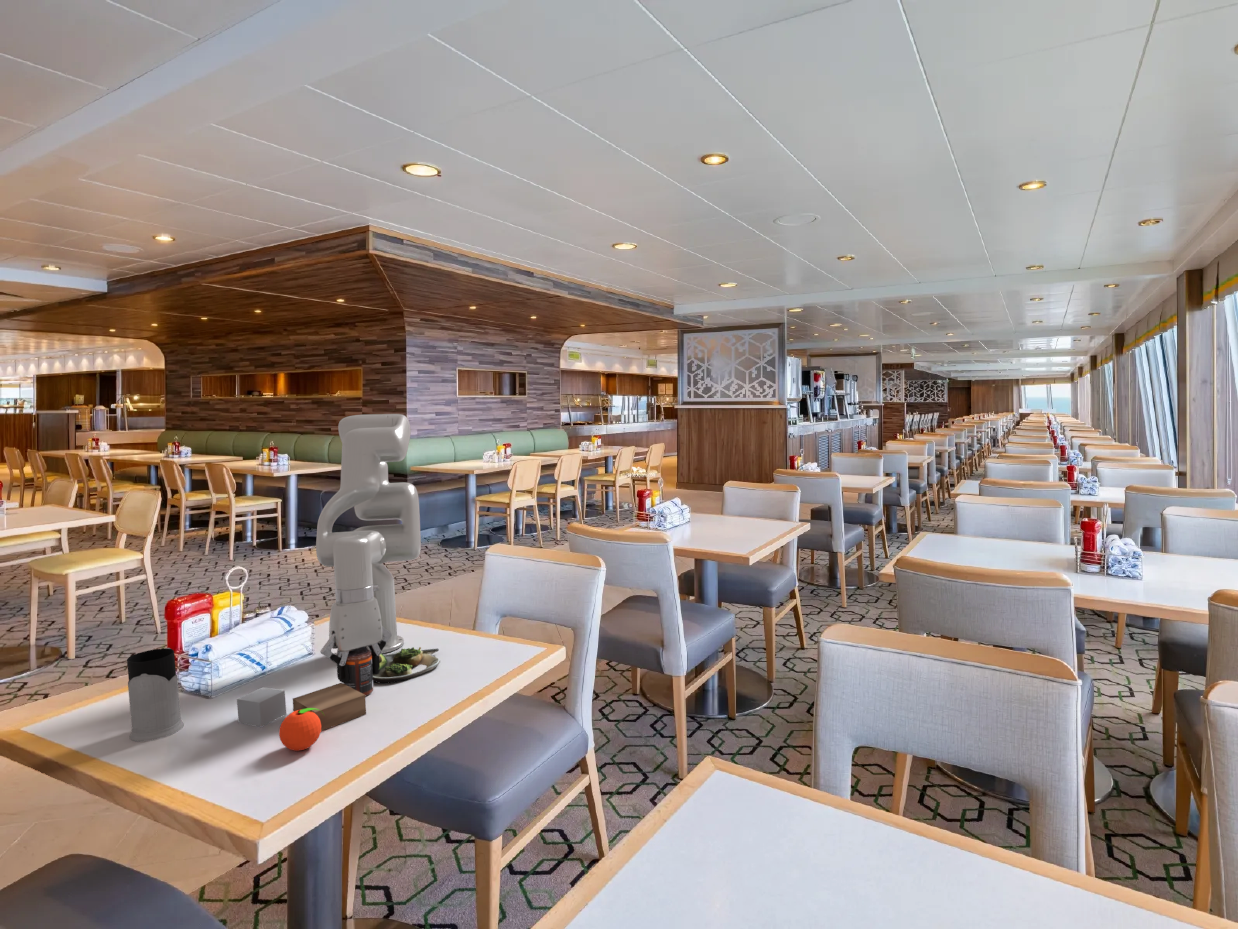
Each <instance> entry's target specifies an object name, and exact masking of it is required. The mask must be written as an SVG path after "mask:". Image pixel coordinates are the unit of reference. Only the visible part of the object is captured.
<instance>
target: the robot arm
mask: <svg viewBox="0 0 1238 929" xmlns="http://www.w3.org/2000/svg"><path fill="white" fill-rule="evenodd" d="M338 422H339V423H338V425H337V426H338V435H339V438H340V442H341V443H342V445H341V462H340V463H341V464H340V465H341V468H340V487H339V489H338V491H336V493H335V494H334V495H333V496H332V497H331V498H330V499H329V500H328V501H327V503H326V504H325V505H324V507H323V509H322V510H321V512H320V515H319V517H318V521H317V527H316V528H317V529H316V542H315V553H316V554H315V555H316V558H317V561H318V562H319V564H320V565H322V566H325V567H329V568H330V567H333V573H334V575H333V576H334V587H335V589H334V590H335V602H333V603H332V604H331V607H330V614H329V625H328V626H329V628H328V629H329V630H328V631H329V632H328V636H329V637H328V639H327V641H326V643H325V644H324V646H322V648H321V649H320V654H322V655H323V656H324V657H326V658H327V659H328V660H330V661H332V662H333V663H334V664H336V671H337V673H336V676H337V677H336V678H337V680H338V681H339V683H343V684H348V683H349V668H348V665H347V664H346V660H347V657H348V653H349V651H351V650H355V649H358V648H361V647H366V646H367V647H366V648H367V649H368V650H370V651H371V653H372V672H373V674H375V675H377V674H379V668H380V663H379V655H381V653H382V654H386V653H390V652H393V651H396V650H398V649H401V647H402V646H403V645H404V644H405V642H404V641H405V640H404V638H403V637H402V636H401V635H398V630H397V629H398V627H397V613H396V612H397V609H396V592H395V579H394V576H393V574H392V572H391V571H390V570H389V569H388V568H387V567H386V565H384V564H385V563H390V562H391V563H393V562H407V561H413V560H416V559H417V558H418V557H419V556H420V553H421V550H422V548H421V546H422V543H421V542H422V539H421V538H422V537H421V516H420V515H421V514H420V498H419V492H418V490H417V487H416V486H415V485H414V484H412V483H411V482H403V481H402V482H390V481H389V465H388V463H391V462H393V463H395V462H398V463H399V462H401V461H403V460H404V459H405V458H406V456H407V453H408V449H409V445H410V440H411V432H412V429H411V424H410V420H409V418H408V417H407V416H406V415H404V414H402V413H401V414H400V413H384V414H382V413H381V414H355V415H349V416H346V417H343V418H341V419H340V421H338ZM352 508H354V513H355V516H356V517H357V518H358V519H359V520H362V521H387V520H390V521H391V520H399V521H401V523H399V524H398V523H397V524H396V523H395V524H378V525H377V524H376V525H367V526H366V525H365V526H361V527H358V528H355V529H354V530H351V531H337V532H333V526H334V523H335V522H336V520H337V519H338V518H339V517H340V516H341V515H342V514H343V513H345V512H346V511H348V510H349V509H352ZM332 649H333V650H334V649H336V652H335V653H333V651H332Z"/></svg>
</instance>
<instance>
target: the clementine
mask: <svg viewBox="0 0 1238 929" xmlns="http://www.w3.org/2000/svg"><path fill="white" fill-rule="evenodd" d="M310 710H319V709H315V708H306V709H301V710H297V711H292V712H291V713H289V714H288V715H287V716H285V718H284V719H283V720H282V722H281V724H280V727H279V731H278V733H279V734H278V735H279V740H280V742H281V744H282V745H283V746H284V747H285V748H287V749H289V750H291V751H297V752H299V751H303V750H306V749H309V748H310V747H312V746H313V745H314V744H315V743H316V742H317V741H318V739H319V738H320V735H321V732H322V731H321V722H320V719H319V717H318V716H317V715H316V714H315V713H314V712H312V711H310ZM321 712H322V711H321ZM322 713H323V712H322ZM323 715H324V714H323ZM324 716H325V715H324Z"/></svg>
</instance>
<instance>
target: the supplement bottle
mask: <svg viewBox="0 0 1238 929" xmlns="http://www.w3.org/2000/svg"><path fill="white" fill-rule="evenodd" d="M366 647H367V646H366ZM366 647H361V648H358V649H355V650H351V651H349V653H348V657H347V660H346V664H347V665H348V668H349V683H348V684H345V685H347V686H349V687H351V688H353V689H355V690H357V691H359V692H361V693H363V694H364V695H365V697H367V696H368V695H371V694H372V692H373V691H374V682H373V672H372V653H371V651H370V650H368V649H367V648H366Z"/></svg>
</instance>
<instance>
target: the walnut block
mask: <svg viewBox="0 0 1238 929" xmlns="http://www.w3.org/2000/svg"><path fill="white" fill-rule="evenodd" d="M366 704H367V703H366V696H365V695H364V694H363V693H361V692H359V691H357V690H355V689H353V688H351V687H349V686H347V685H345V684H344V683H342V682H339V683H335V684H333V685H330V686H327V687H323V688H320V689H318V690H315V691H311V692H309V693H305V694H302V695H300V696H297V697H294V698H292V709H293V711H292V712H294V711H297V710H301V709H306V708H315V709H319V710H310V711H312V712H314V713H315V714H316V715H317V716H318V717H319V719H320V722H321V732H322V731H325V730H328V729H331V728H333V727H335V726H338V725H341V724H343V723H346V722H350V721H352V720H354V719H356V718H357V719H358V718H361V717H363V716H365V715H367V707H366ZM321 711H322V712H323V713H322V712H321ZM323 714H324V715H325V716H324V715H323Z"/></svg>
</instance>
